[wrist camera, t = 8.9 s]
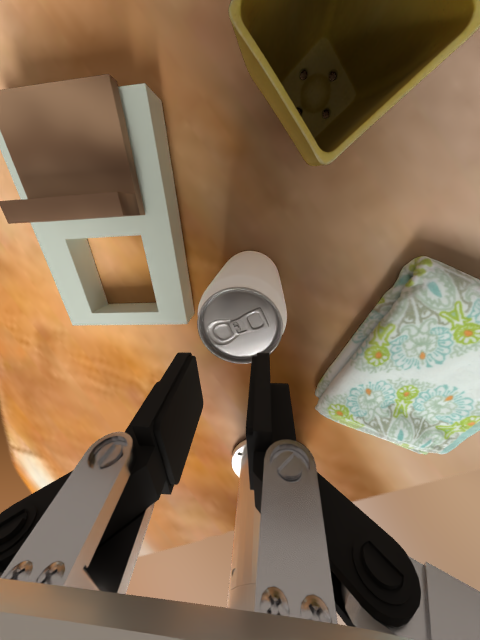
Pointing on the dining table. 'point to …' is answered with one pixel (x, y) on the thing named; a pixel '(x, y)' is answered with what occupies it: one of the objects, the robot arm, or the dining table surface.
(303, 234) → the dining table surface
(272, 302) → the can
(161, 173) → the well board
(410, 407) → the towel
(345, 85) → the flower pot
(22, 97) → the lid
